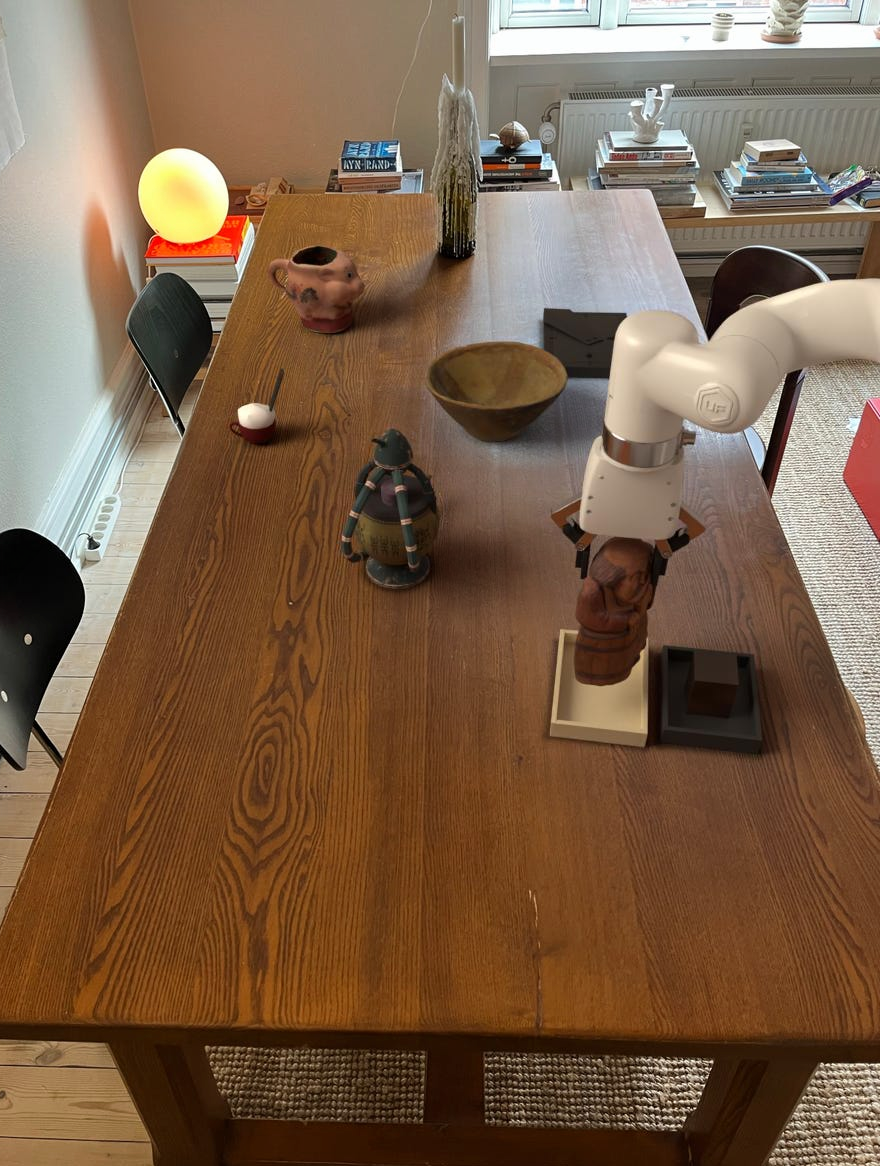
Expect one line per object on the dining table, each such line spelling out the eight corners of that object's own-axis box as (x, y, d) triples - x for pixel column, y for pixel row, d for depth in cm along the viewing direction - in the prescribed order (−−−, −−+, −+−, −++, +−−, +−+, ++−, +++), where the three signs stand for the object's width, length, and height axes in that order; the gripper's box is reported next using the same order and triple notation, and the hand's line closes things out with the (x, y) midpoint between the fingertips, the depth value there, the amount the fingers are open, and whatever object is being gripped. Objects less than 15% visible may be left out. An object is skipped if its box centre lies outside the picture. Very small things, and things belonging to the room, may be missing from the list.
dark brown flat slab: (542, 321, 194) (543, 376, 180) (543, 307, 192) (544, 362, 178) (625, 322, 193) (632, 378, 178) (626, 309, 191) (634, 364, 176)
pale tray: (645, 651, 130) (648, 637, 128) (644, 747, 119) (647, 733, 117) (558, 642, 132) (560, 628, 130) (549, 736, 120) (551, 722, 119)
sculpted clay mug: (260, 332, 195) (250, 262, 185) (283, 303, 203) (275, 235, 194) (358, 343, 191) (353, 272, 181) (377, 314, 199) (373, 244, 189)
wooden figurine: (613, 701, 116) (630, 584, 104) (563, 679, 119) (575, 563, 106) (656, 640, 123) (677, 524, 110) (608, 621, 126) (624, 505, 113)
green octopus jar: (339, 602, 139) (325, 461, 122) (387, 496, 156) (381, 360, 139) (423, 615, 136) (420, 474, 120) (463, 506, 153) (466, 370, 137)
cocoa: (229, 446, 167) (218, 382, 159) (241, 425, 171) (230, 362, 163) (284, 451, 165) (275, 386, 157) (294, 430, 170) (286, 366, 161)
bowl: (456, 381, 180) (456, 329, 173) (579, 407, 172) (584, 354, 165) (404, 444, 166) (403, 391, 159) (535, 475, 158) (540, 421, 151)
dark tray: (749, 667, 127) (754, 654, 126) (757, 754, 117) (762, 740, 116) (659, 658, 129) (662, 644, 127) (660, 742, 119) (663, 729, 117)
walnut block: (726, 688, 124) (736, 654, 120) (728, 718, 121) (738, 684, 117) (685, 684, 125) (693, 650, 121) (686, 714, 122) (694, 680, 117)
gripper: (729, 424, 100) (697, 560, 113) (554, 412, 103) (542, 546, 116) (733, 467, 95) (699, 605, 108) (549, 453, 98) (537, 589, 110)
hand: (618, 573), depth 112 cm, fingers closed on wooden figurine, 7 cm apart
